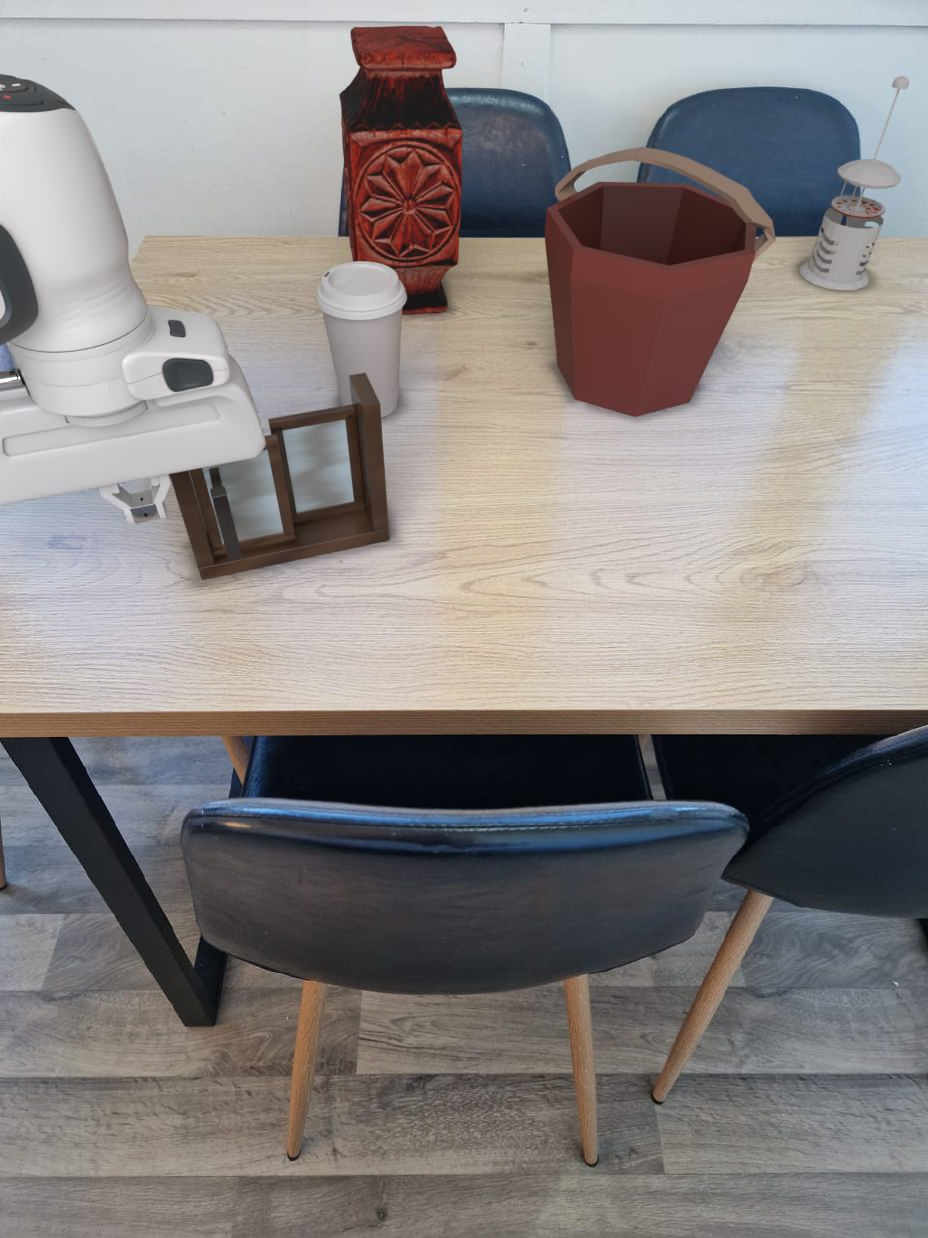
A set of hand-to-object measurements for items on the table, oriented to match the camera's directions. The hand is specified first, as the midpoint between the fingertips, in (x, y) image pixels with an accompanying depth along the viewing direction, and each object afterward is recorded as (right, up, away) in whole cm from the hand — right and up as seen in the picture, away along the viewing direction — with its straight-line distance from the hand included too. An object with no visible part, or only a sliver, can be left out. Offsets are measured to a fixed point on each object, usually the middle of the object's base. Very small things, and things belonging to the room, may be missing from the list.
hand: (148, 516), depth 66 cm
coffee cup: (+14, +17, +32) cm, 38 cm away
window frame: (+8, -1, +15) cm, 17 cm away
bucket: (+45, +21, +36) cm, 61 cm away
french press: (+79, +43, +56) cm, 106 cm away
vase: (+17, +36, +49) cm, 63 cm away
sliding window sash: (+6, -3, +11) cm, 13 cm away
